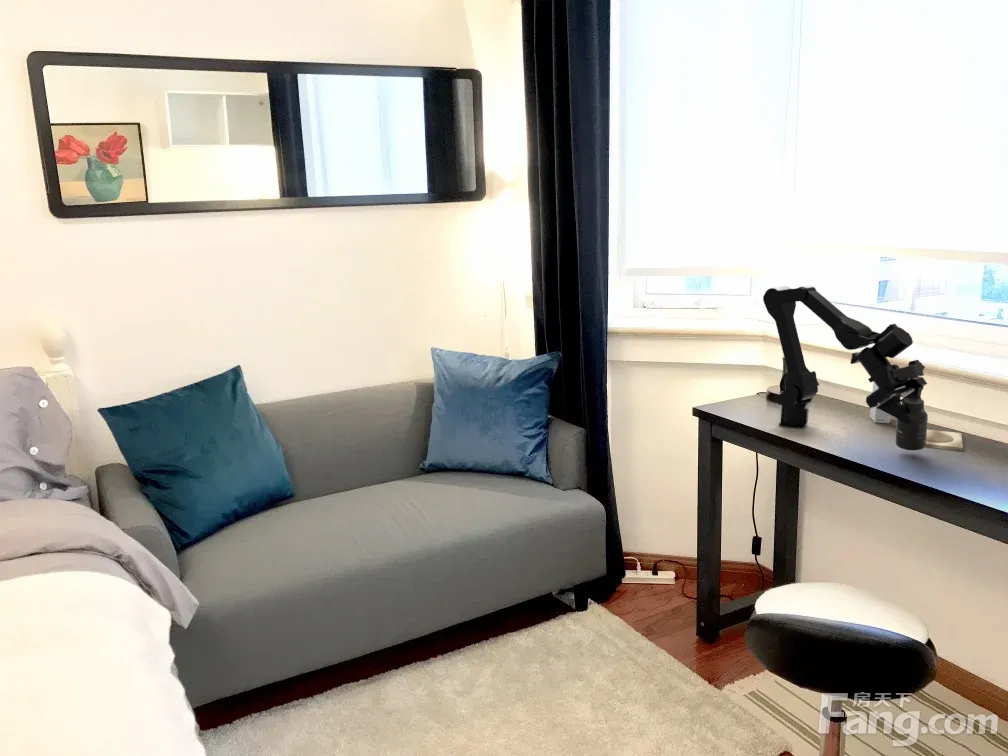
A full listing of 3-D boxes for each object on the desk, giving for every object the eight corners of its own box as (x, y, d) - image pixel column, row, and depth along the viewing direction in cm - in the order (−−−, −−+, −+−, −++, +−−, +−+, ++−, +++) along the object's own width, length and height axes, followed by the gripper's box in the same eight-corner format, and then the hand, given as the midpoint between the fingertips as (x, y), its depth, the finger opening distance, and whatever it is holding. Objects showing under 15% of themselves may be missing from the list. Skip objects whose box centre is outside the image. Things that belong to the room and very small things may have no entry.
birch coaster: (905, 444, 207) (905, 441, 207) (906, 430, 218) (906, 426, 218) (963, 450, 201) (963, 447, 201) (960, 435, 212) (960, 432, 212)
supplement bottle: (889, 446, 199) (891, 401, 196) (904, 438, 203) (906, 393, 199) (917, 453, 194) (919, 407, 190) (931, 444, 198) (934, 399, 194)
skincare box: (890, 423, 224) (894, 382, 221) (874, 422, 225) (878, 381, 222) (885, 417, 230) (889, 376, 227) (869, 416, 231) (873, 376, 228)
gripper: (882, 355, 190) (923, 410, 184) (923, 345, 200) (963, 397, 194) (849, 380, 198) (886, 434, 192) (890, 369, 209) (927, 419, 203)
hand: (917, 420), depth 195 cm, fingers closed on supplement bottle, 7 cm apart
